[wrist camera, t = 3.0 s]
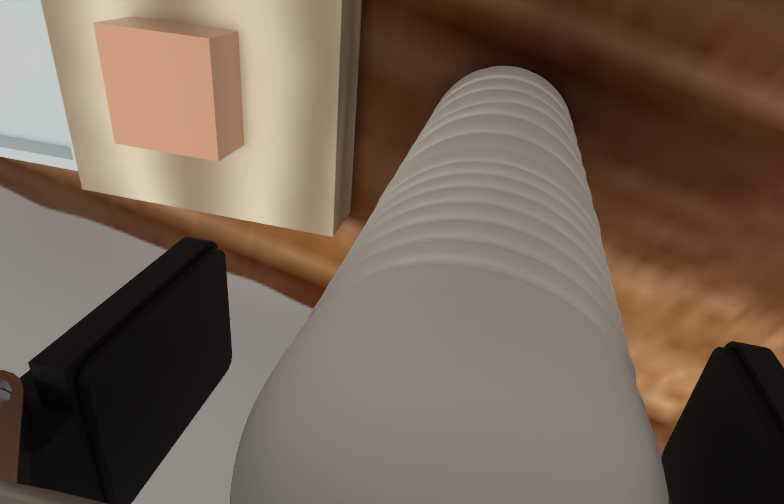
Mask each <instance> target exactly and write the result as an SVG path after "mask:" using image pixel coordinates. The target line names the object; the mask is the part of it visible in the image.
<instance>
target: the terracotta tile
mask: <svg viewBox="0 0 784 504" xmlns="http://www.w3.org/2000/svg"><path fill="white" fill-rule="evenodd" d="M93 24H94V30H95V35H96V41H97V46H98V52H99V58H100V63H101V69H102V74H103V80H104V86H105V91H106V97H107V102H108V108H109V113H110V119H111V125H112V130H113V136H114V141H115V144H120V145H126V146H132V147H138V148H143V149H149V150H155V151H160V152H166V153H172V154H178V155H183V156H189V157H195V158H200V159H206V160H212V161H218V162H219V161H220V160H222V159H224V158H225V157H227V156H228V155H230V154H231V153H233V152H234V151H236V150H237V149H239V148H240V147H242V146H243V145H244V131H243V112H242V93H241V74H240V55H239V36H238V31H235V30H227V29H220V28H213V27H205V26H198V25H190V24H183V23H175V22H168V21H161V20H153V19H146V18H138V17H126V18H119V19H112V20H106V21H99V22H93Z"/></svg>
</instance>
